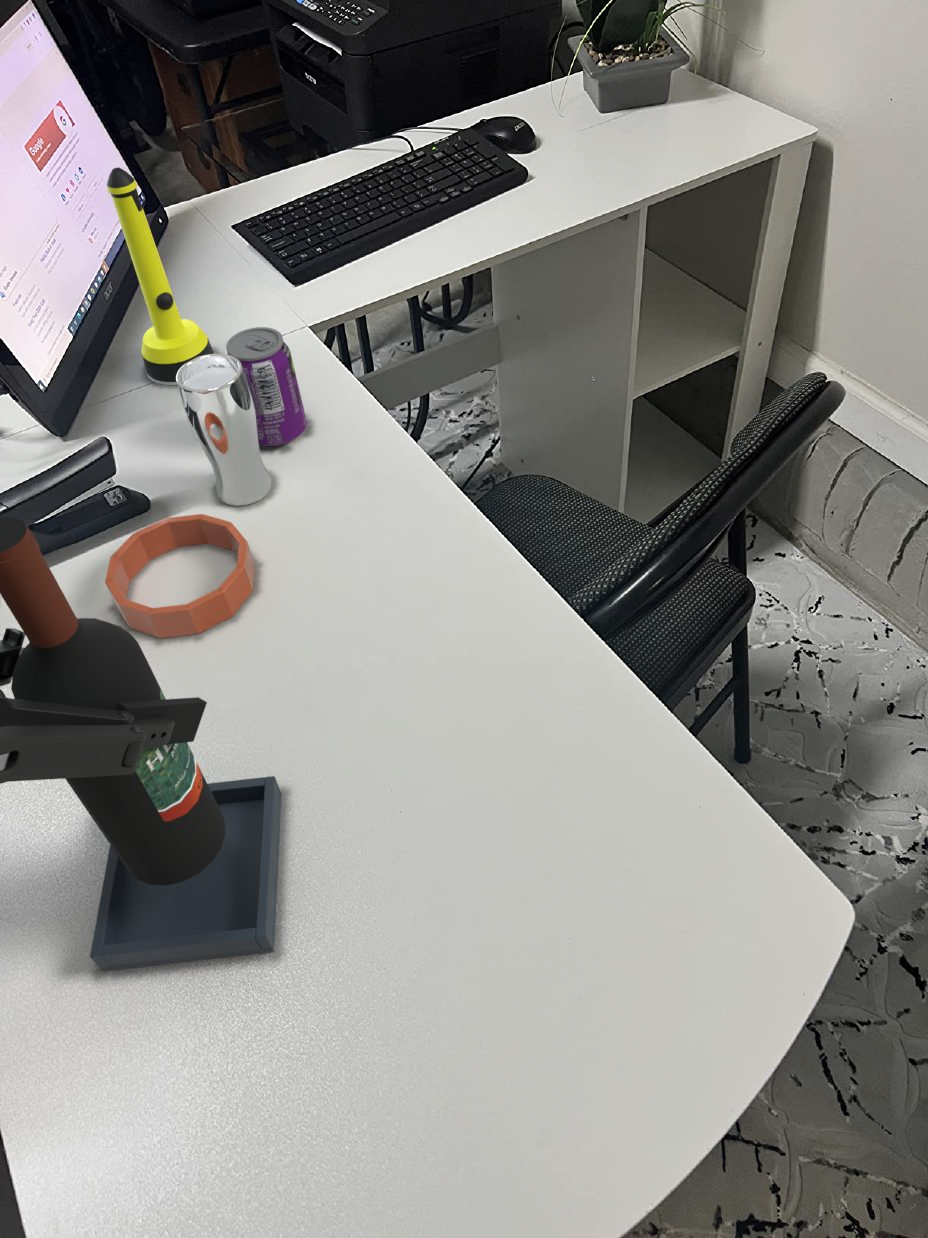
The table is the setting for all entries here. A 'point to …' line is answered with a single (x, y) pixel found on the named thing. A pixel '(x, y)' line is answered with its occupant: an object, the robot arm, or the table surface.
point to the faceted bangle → (167, 538)
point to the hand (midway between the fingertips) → (151, 692)
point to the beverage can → (270, 384)
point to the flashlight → (155, 290)
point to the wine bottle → (100, 678)
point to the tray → (200, 893)
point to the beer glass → (225, 426)
